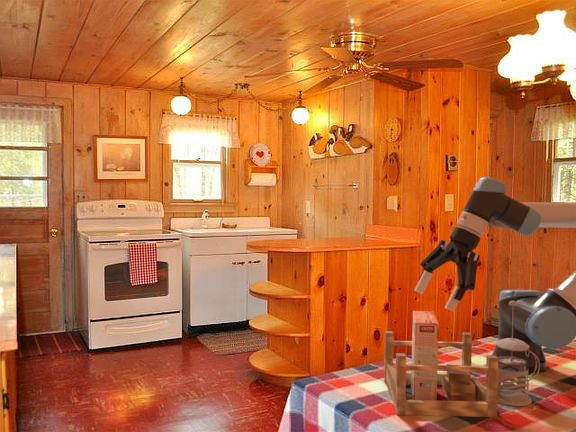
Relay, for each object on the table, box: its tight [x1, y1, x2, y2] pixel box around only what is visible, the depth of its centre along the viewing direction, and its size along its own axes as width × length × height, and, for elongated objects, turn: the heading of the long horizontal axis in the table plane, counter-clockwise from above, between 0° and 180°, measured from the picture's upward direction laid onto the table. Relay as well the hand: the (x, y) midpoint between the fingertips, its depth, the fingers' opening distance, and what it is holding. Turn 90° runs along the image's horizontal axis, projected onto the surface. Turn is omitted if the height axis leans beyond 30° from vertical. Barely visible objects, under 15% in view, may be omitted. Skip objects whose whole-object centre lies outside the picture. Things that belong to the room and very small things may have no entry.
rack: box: [383, 330, 498, 418], centre depth 132 cm, size 23×22×14 cm
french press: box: [494, 301, 540, 407], centre depth 132 cm, size 10×12×25 cm
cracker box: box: [410, 310, 440, 400], centre depth 132 cm, size 14×6×21 cm, turn 168°
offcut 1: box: [446, 363, 470, 385], centre depth 133 cm, size 5×7×2 cm
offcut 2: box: [441, 374, 475, 395], centre depth 133 cm, size 6×8×2 cm
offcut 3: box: [441, 385, 476, 401], centre depth 133 cm, size 6×9×2 cm, turn 176°
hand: (432, 301), depth 142 cm, fingers open, 13 cm apart
